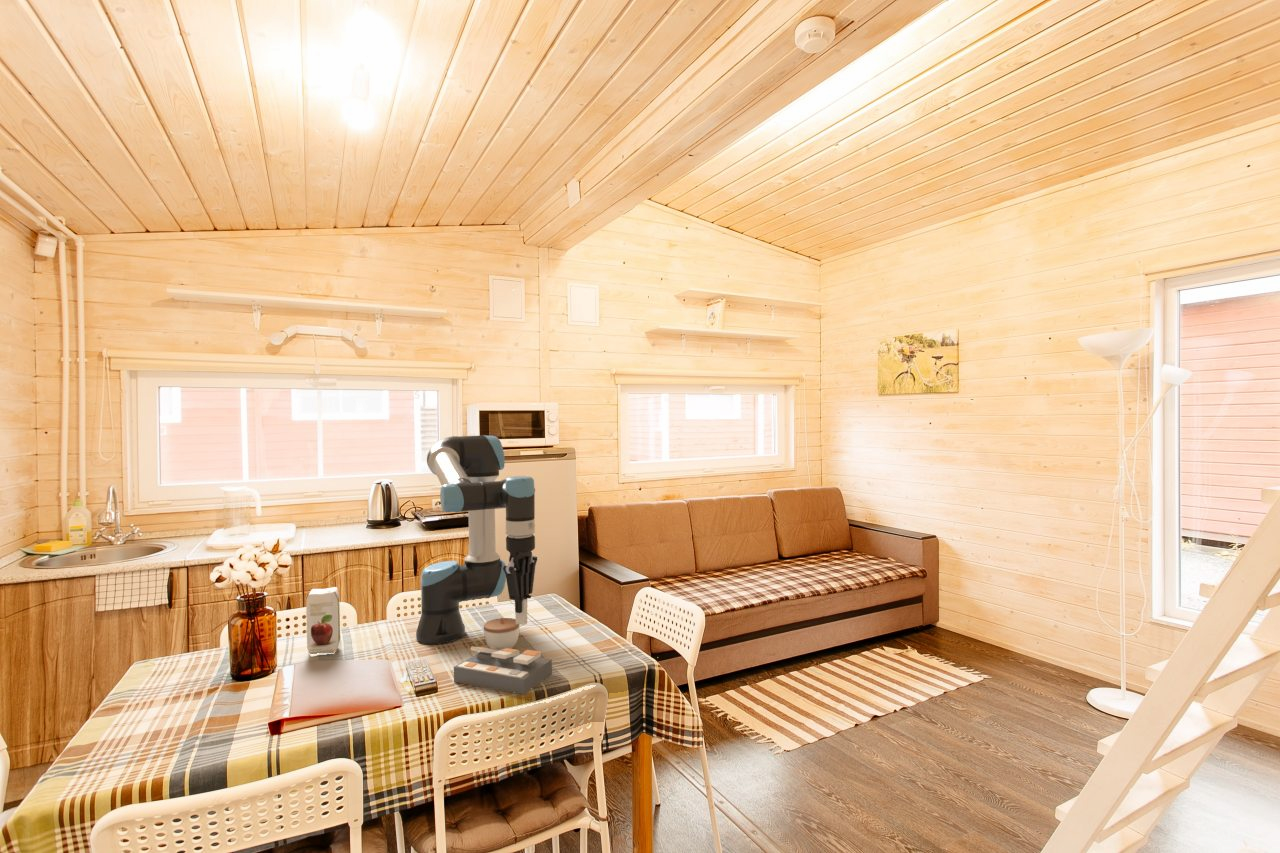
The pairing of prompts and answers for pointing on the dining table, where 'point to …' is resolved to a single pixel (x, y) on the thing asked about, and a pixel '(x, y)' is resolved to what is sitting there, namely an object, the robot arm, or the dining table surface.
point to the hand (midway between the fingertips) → (521, 623)
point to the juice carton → (323, 620)
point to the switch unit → (502, 673)
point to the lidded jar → (501, 633)
